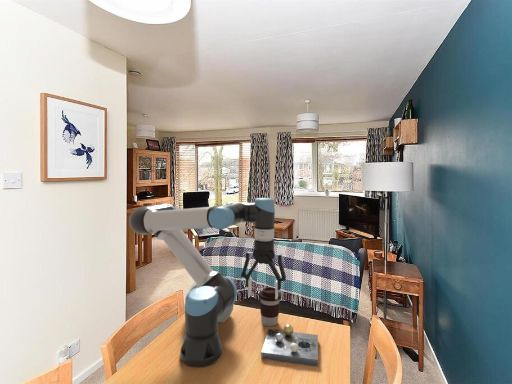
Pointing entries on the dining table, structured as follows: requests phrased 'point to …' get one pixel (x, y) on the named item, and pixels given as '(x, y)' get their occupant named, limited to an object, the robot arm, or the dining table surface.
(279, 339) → the steel ball
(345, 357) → the dining table surface
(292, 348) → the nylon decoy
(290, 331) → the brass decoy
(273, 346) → the plate
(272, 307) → the coffee cup
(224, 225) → the robot arm
